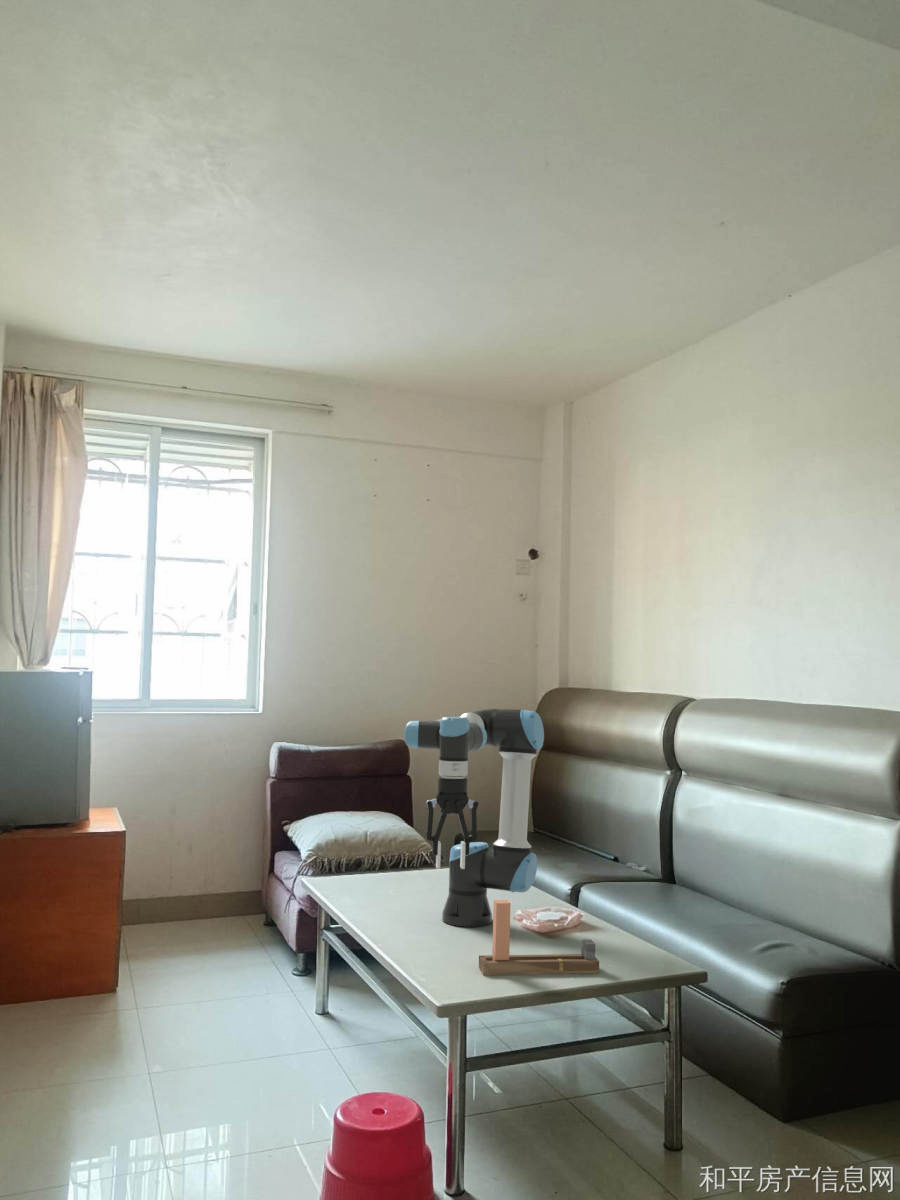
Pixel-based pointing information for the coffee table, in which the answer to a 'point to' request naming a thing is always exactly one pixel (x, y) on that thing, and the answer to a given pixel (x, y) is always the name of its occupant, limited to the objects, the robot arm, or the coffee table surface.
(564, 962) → the beam
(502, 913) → the block
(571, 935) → the coffee table surface
